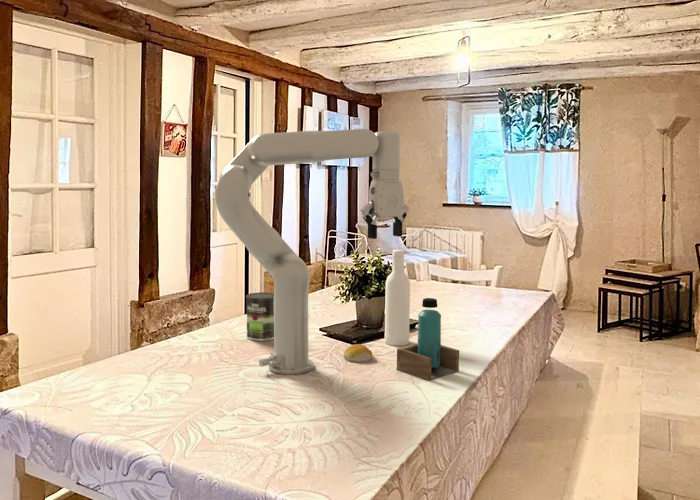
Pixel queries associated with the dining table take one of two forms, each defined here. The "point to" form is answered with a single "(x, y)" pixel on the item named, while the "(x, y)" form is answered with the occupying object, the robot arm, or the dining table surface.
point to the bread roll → (358, 353)
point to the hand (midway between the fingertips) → (385, 237)
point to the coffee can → (260, 316)
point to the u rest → (427, 362)
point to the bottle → (397, 303)
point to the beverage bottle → (430, 332)
